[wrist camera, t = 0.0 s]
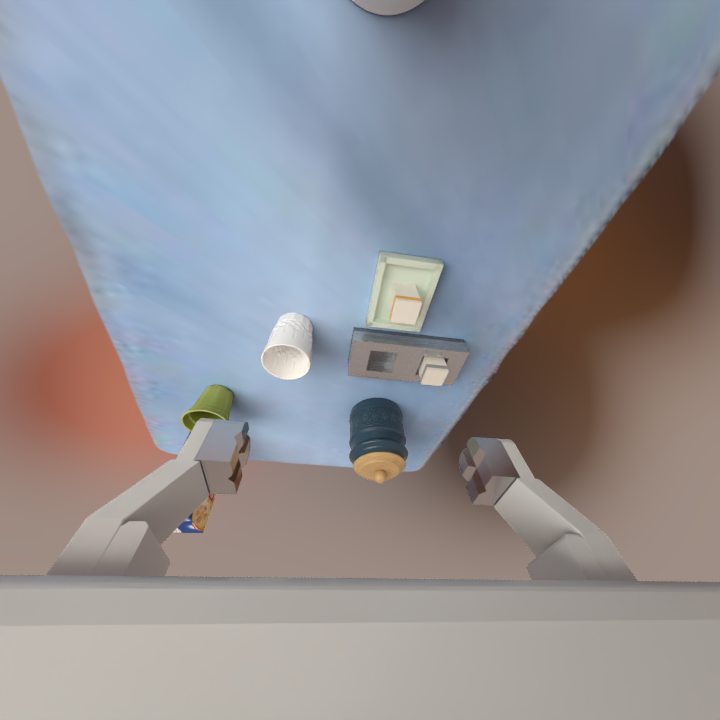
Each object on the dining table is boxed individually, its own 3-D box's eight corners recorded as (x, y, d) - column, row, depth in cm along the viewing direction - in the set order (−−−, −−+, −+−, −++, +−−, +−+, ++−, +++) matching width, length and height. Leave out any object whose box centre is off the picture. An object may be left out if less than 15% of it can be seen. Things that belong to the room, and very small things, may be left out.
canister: (411, 413, 73) (424, 482, 60) (373, 434, 79) (377, 501, 65) (377, 388, 66) (384, 459, 53) (338, 413, 72) (336, 483, 59)
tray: (379, 250, 45) (380, 255, 43) (440, 259, 46) (443, 264, 45) (365, 319, 53) (366, 326, 52) (417, 325, 55) (419, 332, 53)
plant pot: (193, 377, 62) (175, 408, 56) (238, 380, 64) (225, 412, 57) (202, 404, 69) (187, 436, 62) (243, 407, 70) (232, 438, 63)
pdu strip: (353, 327, 55) (353, 340, 52) (463, 339, 57) (469, 352, 54) (347, 362, 60) (347, 375, 57) (447, 371, 63) (452, 385, 60)
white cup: (322, 338, 56) (317, 374, 49) (284, 347, 57) (275, 383, 50) (306, 304, 51) (298, 339, 44) (265, 315, 52) (251, 350, 45)
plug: (392, 281, 48) (396, 299, 43) (415, 284, 48) (422, 302, 44) (386, 302, 50) (390, 322, 46) (409, 305, 51) (415, 325, 46)
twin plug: (421, 348, 57) (427, 369, 53) (441, 350, 57) (449, 371, 53) (416, 363, 60) (421, 384, 55) (434, 365, 60) (441, 386, 56)
